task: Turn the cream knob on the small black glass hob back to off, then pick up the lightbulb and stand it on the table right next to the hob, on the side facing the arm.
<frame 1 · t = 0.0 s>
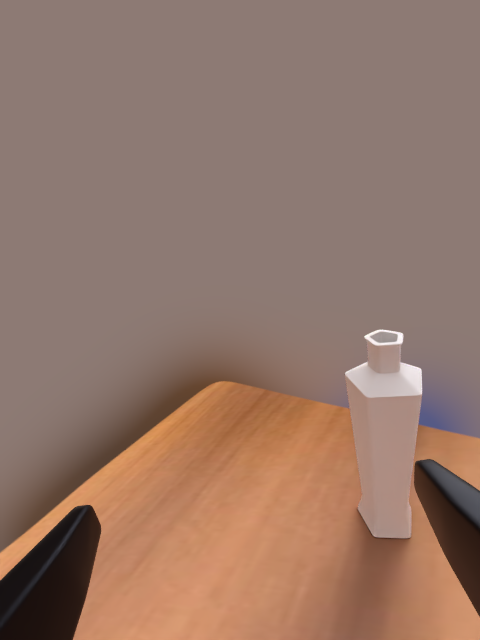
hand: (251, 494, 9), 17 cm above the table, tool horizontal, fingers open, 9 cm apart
perfume bottle: (384, 519, 24), on the table
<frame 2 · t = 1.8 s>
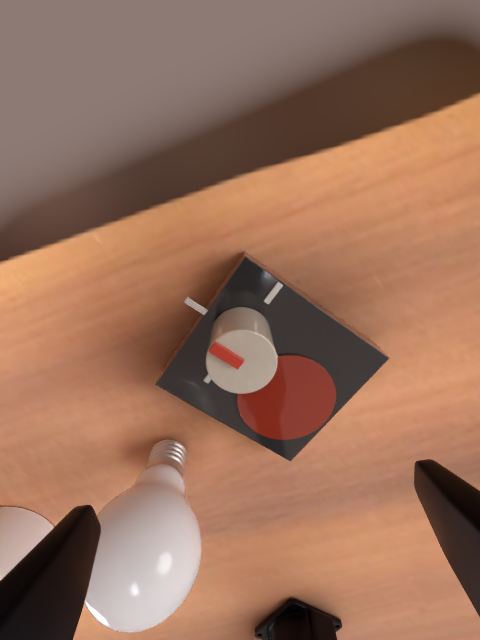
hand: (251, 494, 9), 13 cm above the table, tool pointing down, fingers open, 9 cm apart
cylindrical container: (19, 534, 28), on the table
burner zone: (282, 382, 23), resting on hob
hob: (268, 357, 22), on the table
lightbulb: (171, 445, 25), on the table
hob knob: (241, 349, 18), point 4 cm above the table, hinge at 90.0°
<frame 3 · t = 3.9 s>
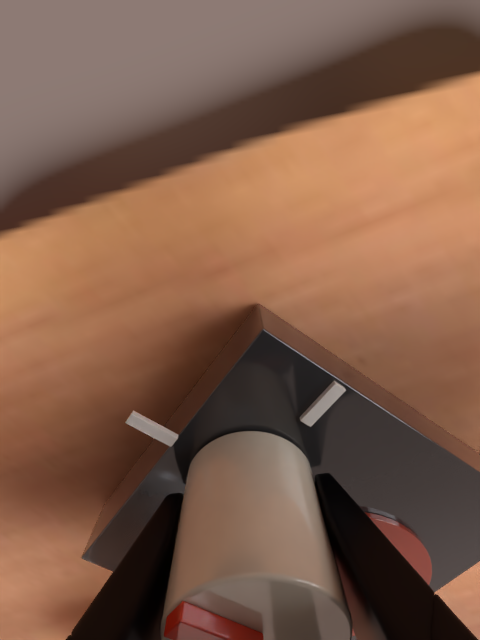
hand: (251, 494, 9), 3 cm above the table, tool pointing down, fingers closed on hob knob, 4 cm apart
burner zone: (319, 522, 13), resting on hob
hob: (296, 485, 12), on the table
hob knob: (252, 548, 7), point 4 cm above the table, hinge at 90.0°, touching gripper
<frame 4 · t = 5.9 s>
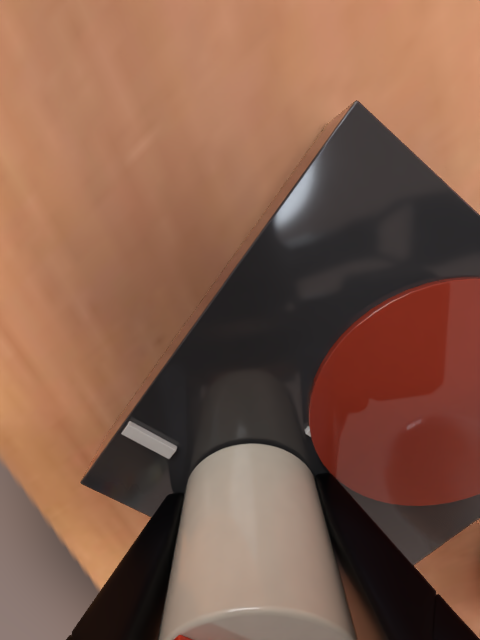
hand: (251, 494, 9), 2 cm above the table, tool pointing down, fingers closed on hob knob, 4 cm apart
burner zone: (400, 364, 10), resting on hob
hob: (331, 393, 10), on the table
hob knob: (254, 570, 7), point 4 cm above the table, hinge at 0.0°, touching gripper
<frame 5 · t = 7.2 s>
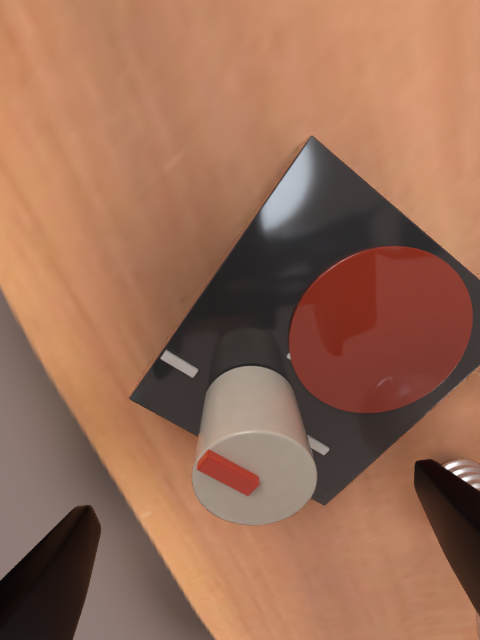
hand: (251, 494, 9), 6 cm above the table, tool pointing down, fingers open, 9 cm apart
burner zone: (357, 316, 13), resting on hob
hob: (308, 339, 14), on the table
lightbulb: (445, 466, 17), on the table
hob knob: (252, 441, 11), point 4 cm above the table, hinge at -0.2°
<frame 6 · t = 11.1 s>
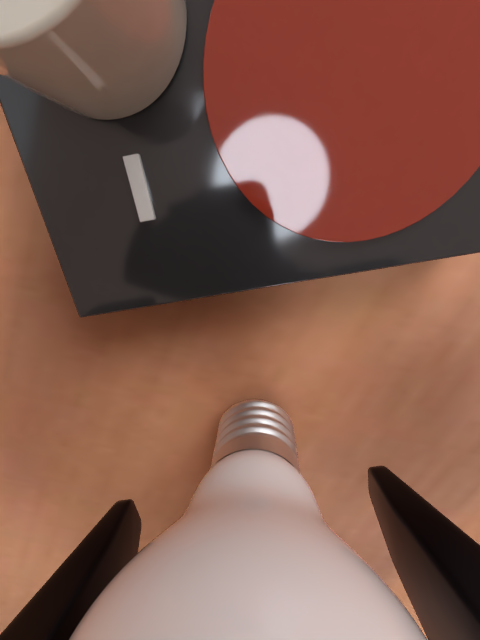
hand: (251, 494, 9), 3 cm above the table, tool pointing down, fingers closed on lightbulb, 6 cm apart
burner zone: (332, 108, 9), resting on hob
hob: (252, 79, 8), on the table
lightbulb: (256, 415, 12), on the table, touching gripper
when the fingers open (4 cm above the table, at t = 17.0 s): lightbulb stays where it is, on the table.
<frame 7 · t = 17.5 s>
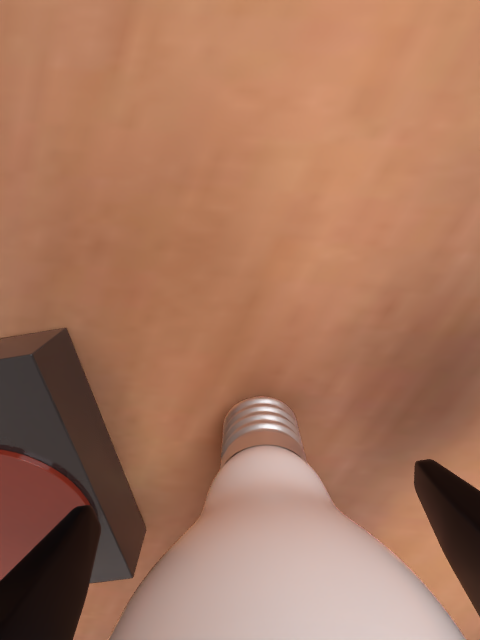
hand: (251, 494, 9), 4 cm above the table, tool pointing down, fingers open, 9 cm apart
burner zone: (38, 473, 13), resting on hob
lightbulb: (258, 412, 12), on the table
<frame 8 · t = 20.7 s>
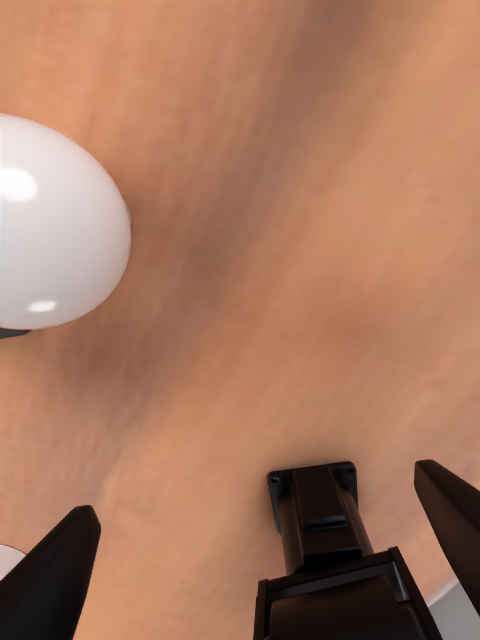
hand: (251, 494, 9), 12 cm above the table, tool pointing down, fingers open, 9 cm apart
lightbulb: (112, 216, 18), on the table
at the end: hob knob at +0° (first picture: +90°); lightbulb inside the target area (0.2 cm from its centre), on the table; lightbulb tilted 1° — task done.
